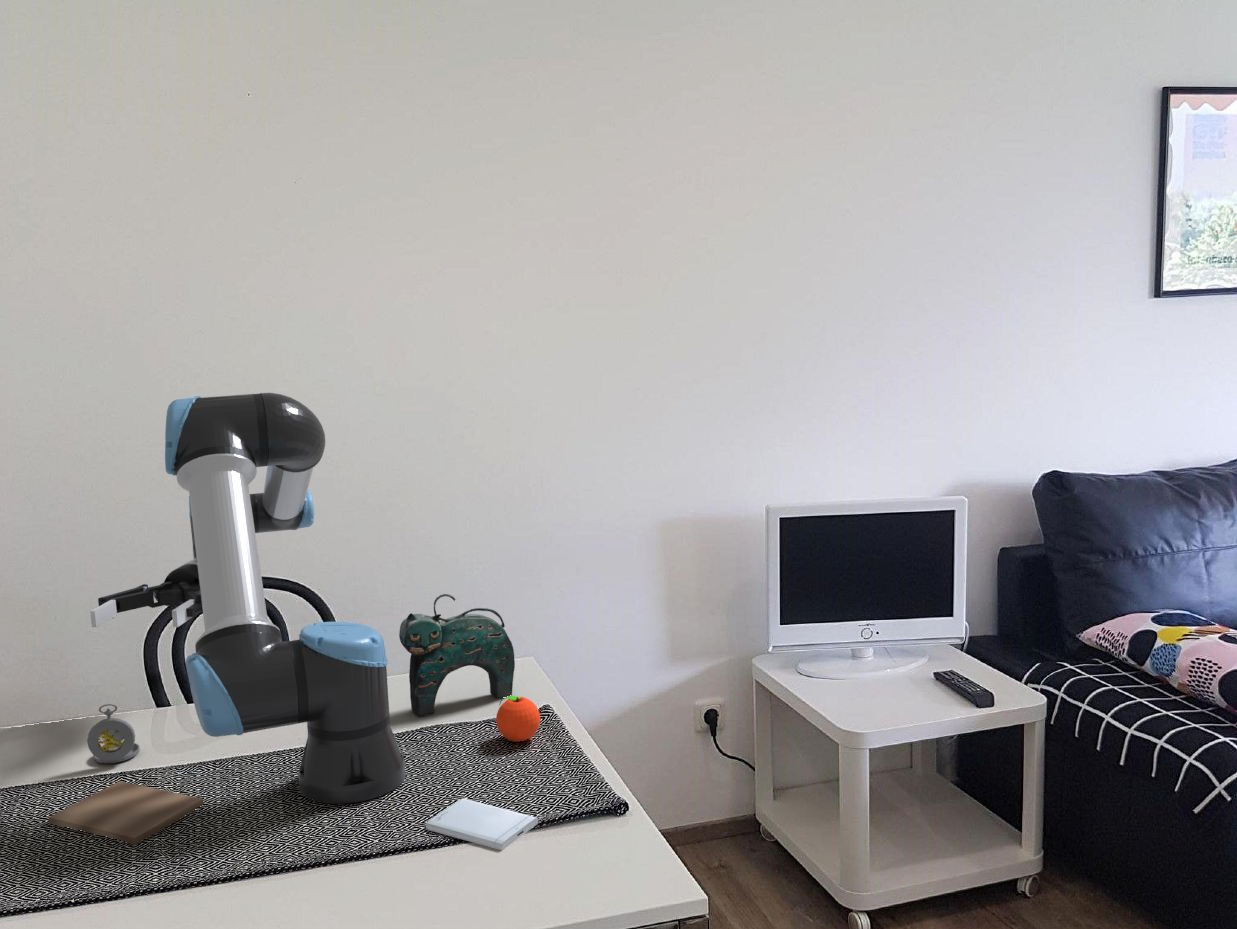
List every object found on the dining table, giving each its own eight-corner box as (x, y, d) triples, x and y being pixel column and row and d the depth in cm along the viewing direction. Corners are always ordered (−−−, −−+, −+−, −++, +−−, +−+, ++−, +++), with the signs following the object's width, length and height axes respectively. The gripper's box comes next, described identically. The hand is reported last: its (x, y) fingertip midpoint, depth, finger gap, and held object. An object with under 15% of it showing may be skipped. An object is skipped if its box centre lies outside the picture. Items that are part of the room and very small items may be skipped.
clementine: (483, 739, 177) (481, 697, 175) (515, 726, 182) (513, 684, 180) (518, 752, 171) (516, 708, 170) (550, 738, 176) (548, 695, 175)
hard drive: (425, 822, 148) (501, 842, 141) (463, 796, 155) (538, 815, 148) (426, 833, 148) (502, 854, 142) (464, 808, 155) (538, 826, 149)
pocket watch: (127, 744, 179) (120, 685, 177) (153, 757, 173) (147, 696, 172) (75, 762, 172) (69, 700, 171) (102, 776, 167) (95, 712, 166)
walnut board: (203, 805, 156) (202, 798, 156) (135, 845, 146) (134, 838, 145) (120, 787, 163) (119, 781, 163) (49, 824, 152) (48, 817, 152)
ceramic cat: (410, 722, 185) (403, 605, 182) (398, 709, 190) (391, 596, 187) (520, 698, 194) (515, 586, 191) (505, 687, 200) (500, 578, 197)
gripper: (262, 603, 200) (211, 641, 179) (128, 604, 202) (62, 641, 181) (258, 562, 199) (207, 596, 178) (123, 563, 201) (57, 596, 180)
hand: (133, 619), depth 179 cm, fingers open, 13 cm apart
